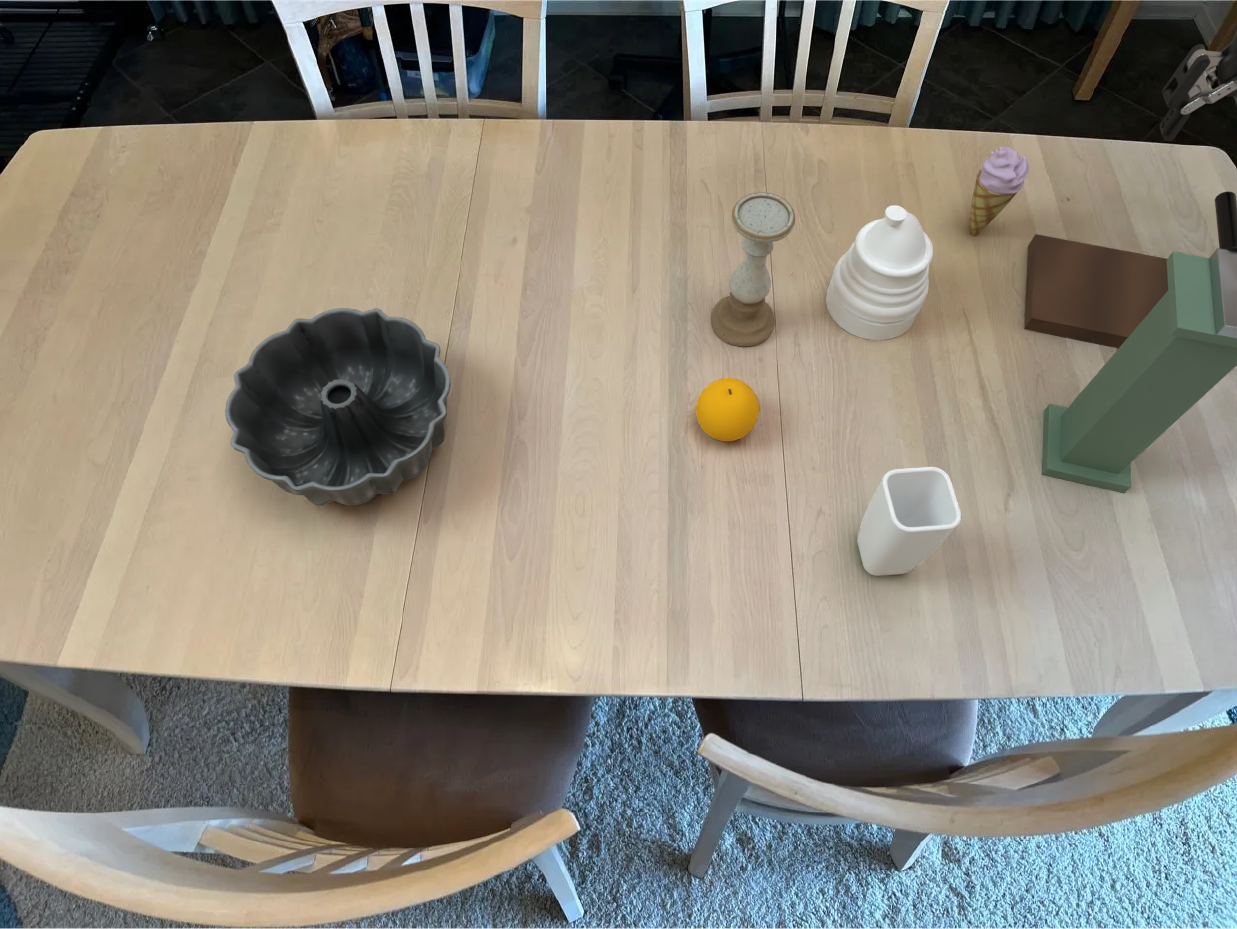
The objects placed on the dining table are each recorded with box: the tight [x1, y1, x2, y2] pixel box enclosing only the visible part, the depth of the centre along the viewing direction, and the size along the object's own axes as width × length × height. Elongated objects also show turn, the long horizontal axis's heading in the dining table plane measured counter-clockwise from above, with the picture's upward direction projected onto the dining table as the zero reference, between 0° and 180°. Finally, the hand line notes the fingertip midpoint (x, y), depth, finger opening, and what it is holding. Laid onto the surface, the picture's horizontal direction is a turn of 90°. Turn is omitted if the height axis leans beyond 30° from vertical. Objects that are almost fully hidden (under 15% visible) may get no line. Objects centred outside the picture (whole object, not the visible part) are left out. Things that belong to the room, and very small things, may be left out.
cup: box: [856, 466, 962, 577], centre depth 94 cm, size 7×7×15 cm
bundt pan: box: [224, 307, 452, 507], centre depth 104 cm, size 26×26×10 cm
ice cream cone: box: [967, 145, 1030, 237], centre depth 119 cm, size 7×6×15 cm
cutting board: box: [1023, 233, 1168, 349], centre depth 118 cm, size 20×16×2 cm
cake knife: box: [1208, 191, 1237, 339], centre depth 82 cm, size 3×18×2 cm, turn 165°
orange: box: [695, 377, 761, 442], centre depth 106 cm, size 8×8×8 cm
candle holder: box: [710, 191, 796, 347], centre depth 108 cm, size 9×9×20 cm
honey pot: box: [825, 204, 934, 341], centre depth 111 cm, size 13×13×18 cm
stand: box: [1041, 251, 1237, 494], centre depth 94 cm, size 10×10×30 cm
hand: (1204, 138), depth 95 cm, fingers open, 8 cm apart
